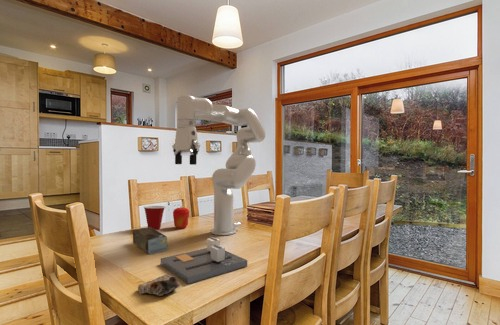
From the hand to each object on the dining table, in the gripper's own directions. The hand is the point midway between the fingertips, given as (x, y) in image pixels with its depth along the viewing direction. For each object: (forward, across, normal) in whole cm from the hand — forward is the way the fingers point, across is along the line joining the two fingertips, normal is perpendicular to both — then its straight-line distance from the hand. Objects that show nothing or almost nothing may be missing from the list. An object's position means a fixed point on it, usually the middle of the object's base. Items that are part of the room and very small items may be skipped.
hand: (185, 164), depth 120 cm
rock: (+34, -30, +33) cm, 56 cm away
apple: (+34, +24, -16) cm, 45 cm away
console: (+34, -25, +12) cm, 44 cm away
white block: (+31, -30, +10) cm, 45 cm away
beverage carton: (+34, +7, +12) cm, 37 cm away
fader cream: (+31, -22, +4) cm, 39 cm away
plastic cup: (+34, +32, -6) cm, 47 cm away
